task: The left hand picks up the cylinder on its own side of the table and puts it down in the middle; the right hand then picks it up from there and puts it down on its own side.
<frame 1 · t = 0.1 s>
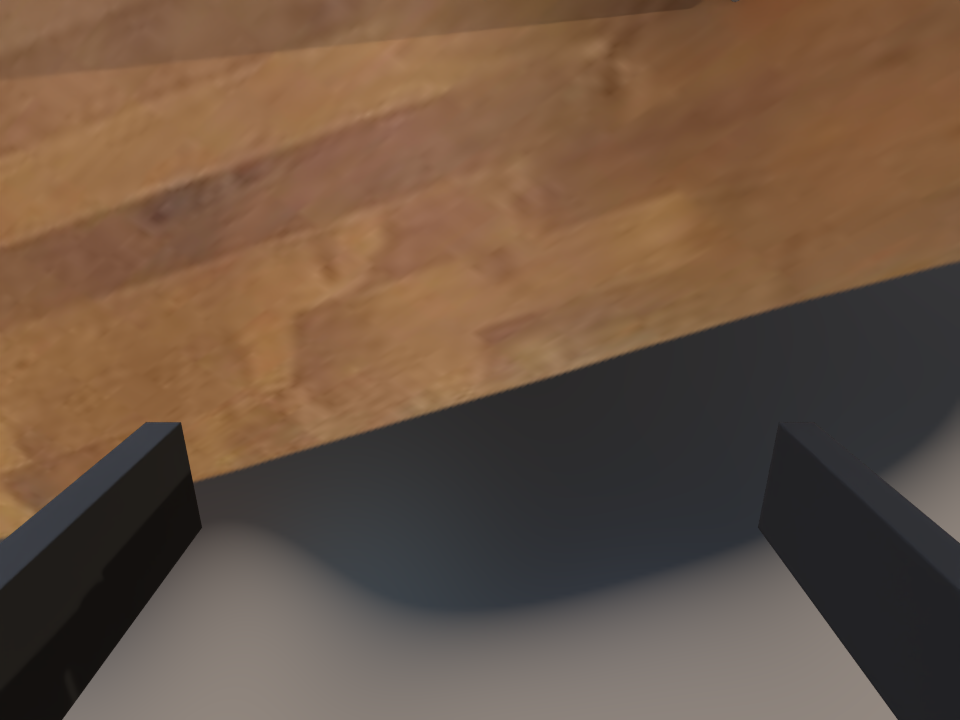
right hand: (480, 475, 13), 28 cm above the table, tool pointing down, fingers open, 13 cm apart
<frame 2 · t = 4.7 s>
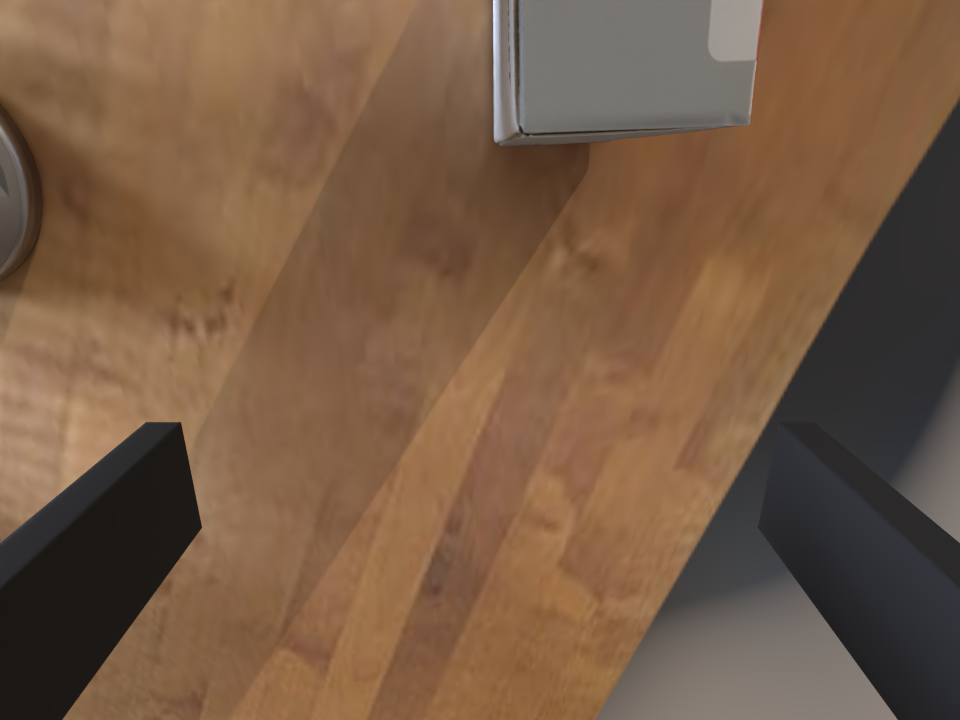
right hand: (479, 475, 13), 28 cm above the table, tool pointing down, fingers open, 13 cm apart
hard drive box: (555, 5, 34), on the table
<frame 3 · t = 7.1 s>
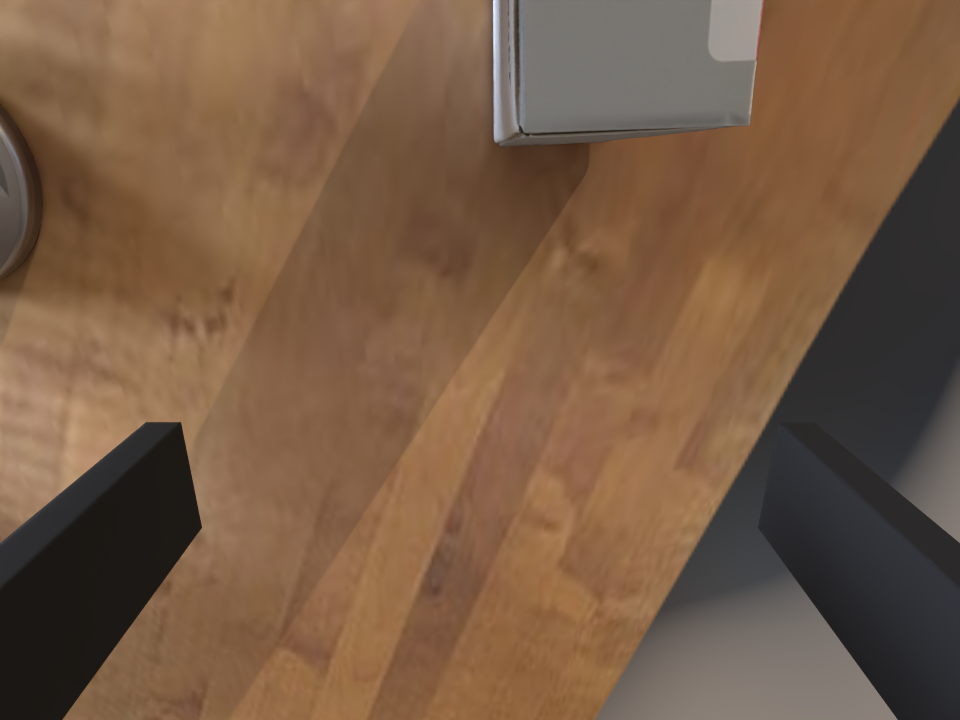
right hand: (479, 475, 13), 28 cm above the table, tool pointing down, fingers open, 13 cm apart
hard drive box: (555, 5, 34), on the table
when the left hand's fingers open (6 cm above the table, at t = 9.6 s): cylinder drops 2 cm, on the table.
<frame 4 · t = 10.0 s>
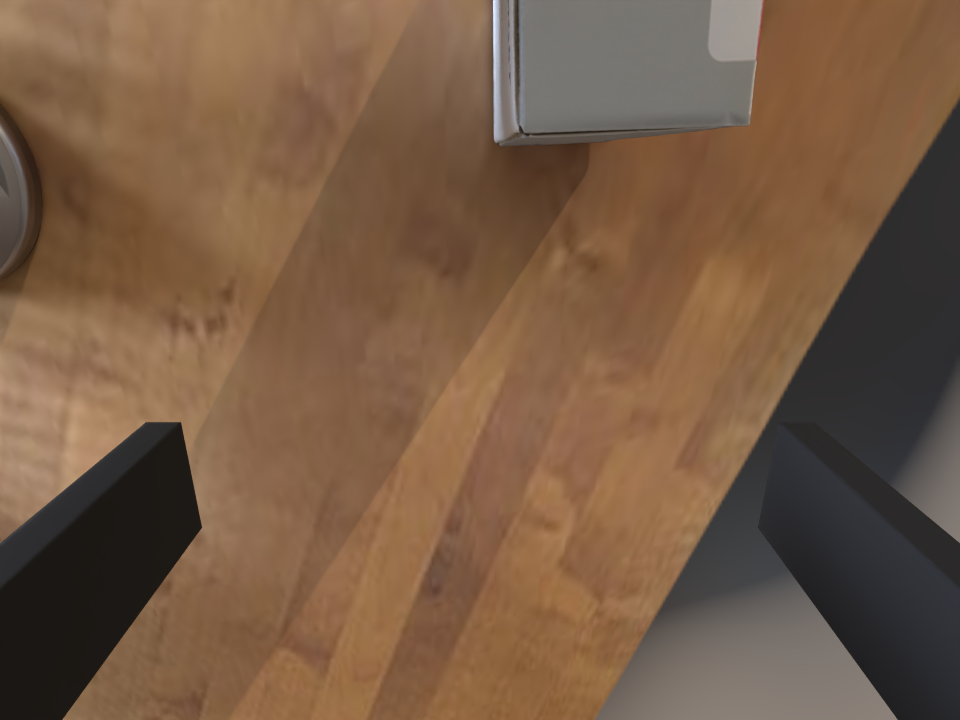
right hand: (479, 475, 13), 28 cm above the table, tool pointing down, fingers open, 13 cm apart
hard drive box: (555, 5, 34), on the table
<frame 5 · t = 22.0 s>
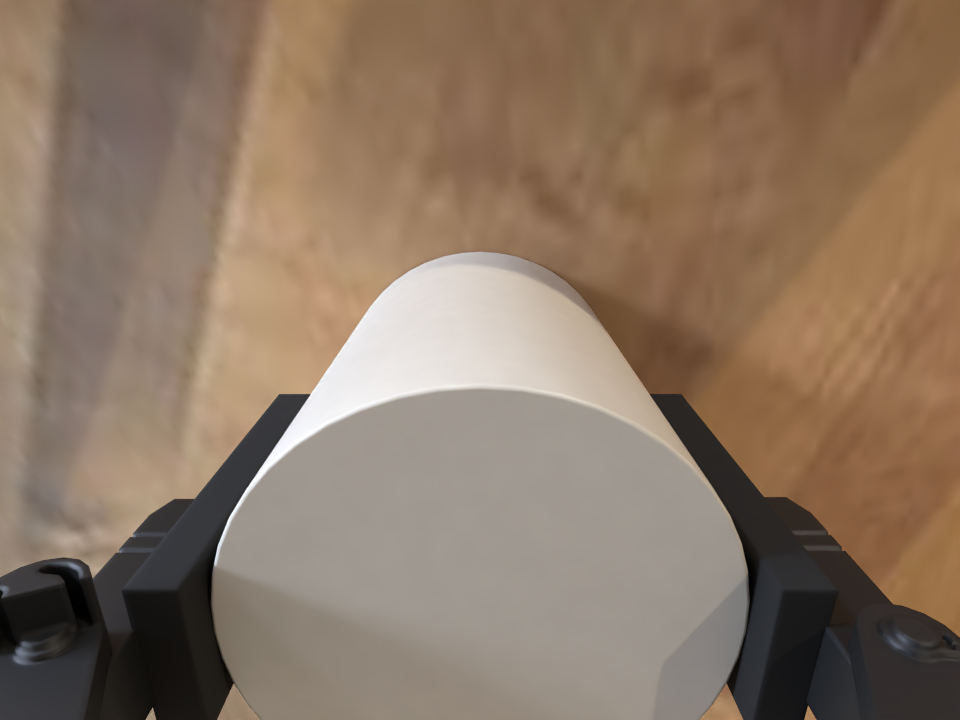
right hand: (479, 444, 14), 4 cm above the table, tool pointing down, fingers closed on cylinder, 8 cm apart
cylinder: (480, 382, 18), on the table, touching right hand
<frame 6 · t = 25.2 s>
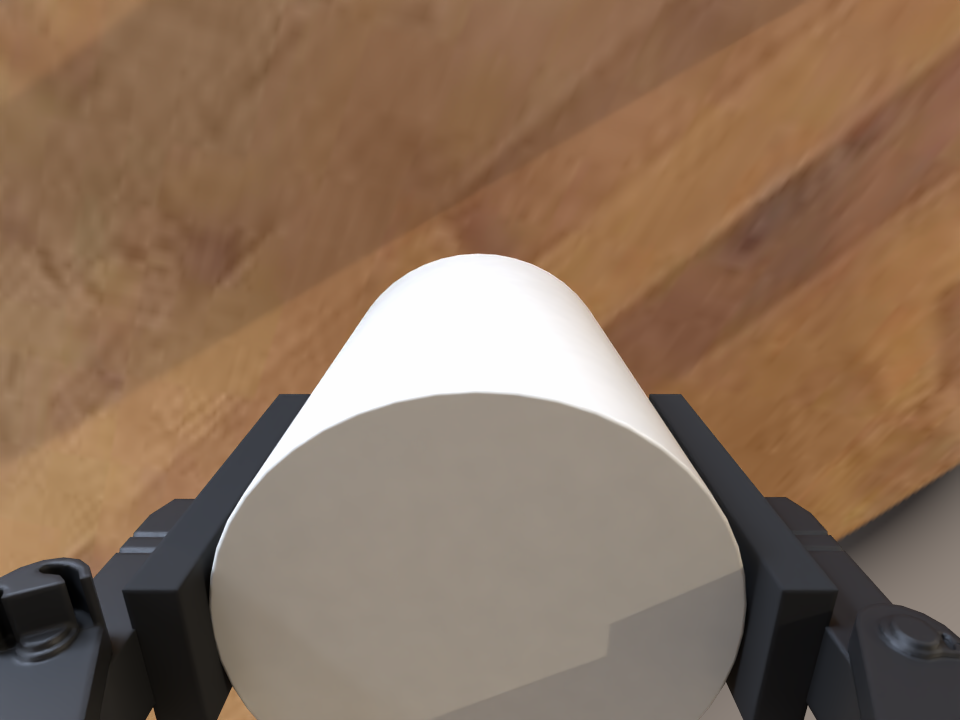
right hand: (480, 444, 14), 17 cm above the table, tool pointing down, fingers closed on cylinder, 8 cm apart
cylinder: (478, 383, 18), point 13 cm above the table, touching right hand
when the right hand's fingers open (6 cm above the table, at t = 28.6 s): cylinder drops 2 cm, on the table.
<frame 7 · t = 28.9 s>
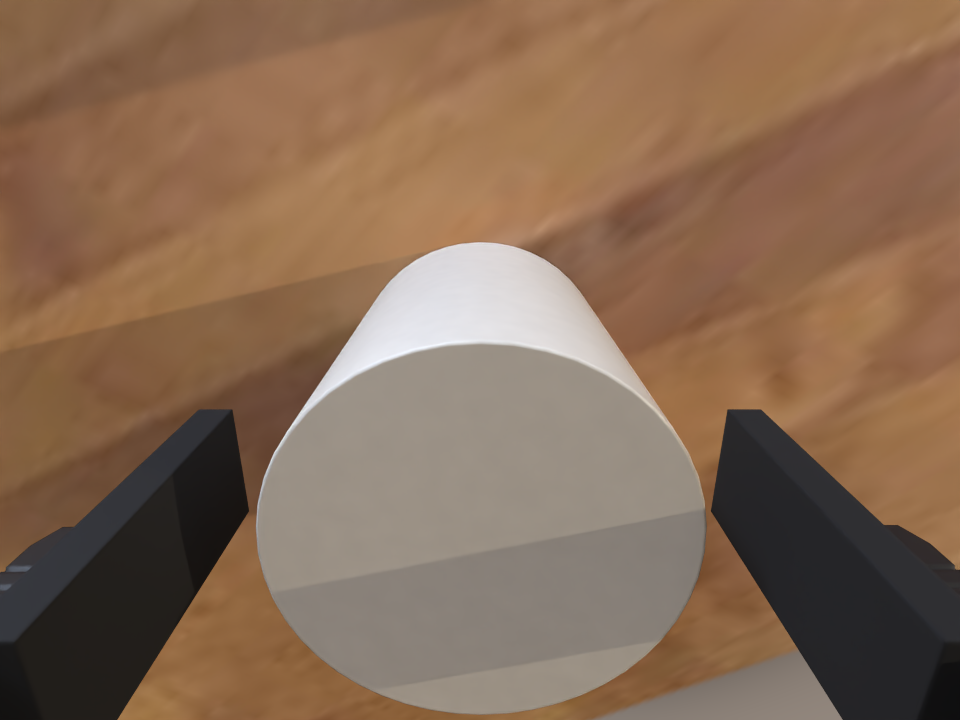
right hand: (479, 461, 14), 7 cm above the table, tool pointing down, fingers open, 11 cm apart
cylinder: (480, 362, 20), on the table
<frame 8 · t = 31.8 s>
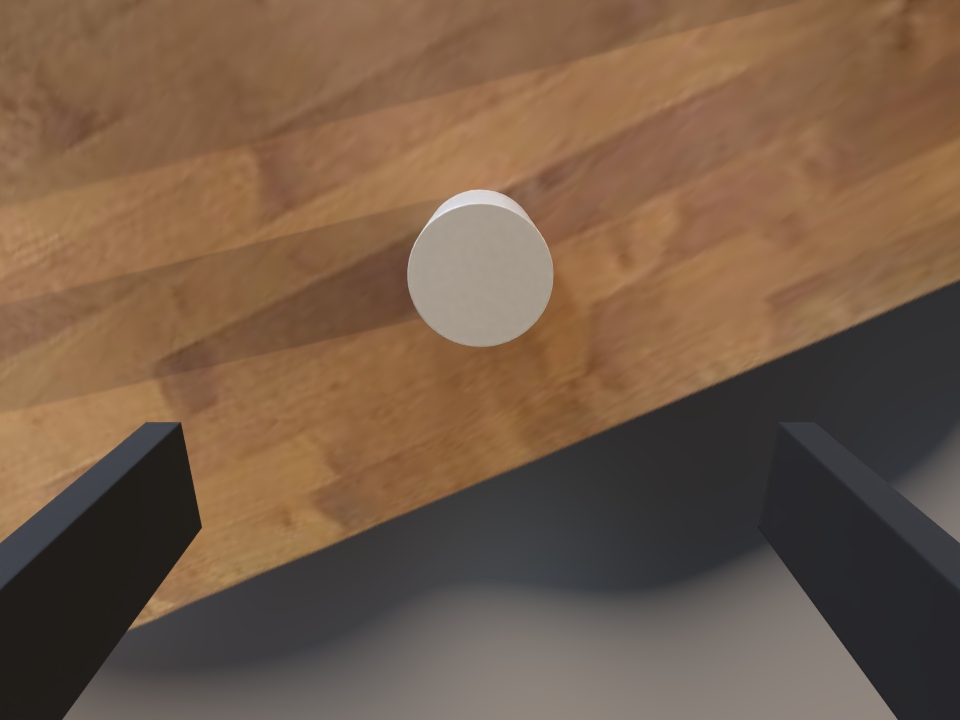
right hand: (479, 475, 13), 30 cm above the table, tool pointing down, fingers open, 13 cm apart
cylinder: (480, 248, 41), on the table
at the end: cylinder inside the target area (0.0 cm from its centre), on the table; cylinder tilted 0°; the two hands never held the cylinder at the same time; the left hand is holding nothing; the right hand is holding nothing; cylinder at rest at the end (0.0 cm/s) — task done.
